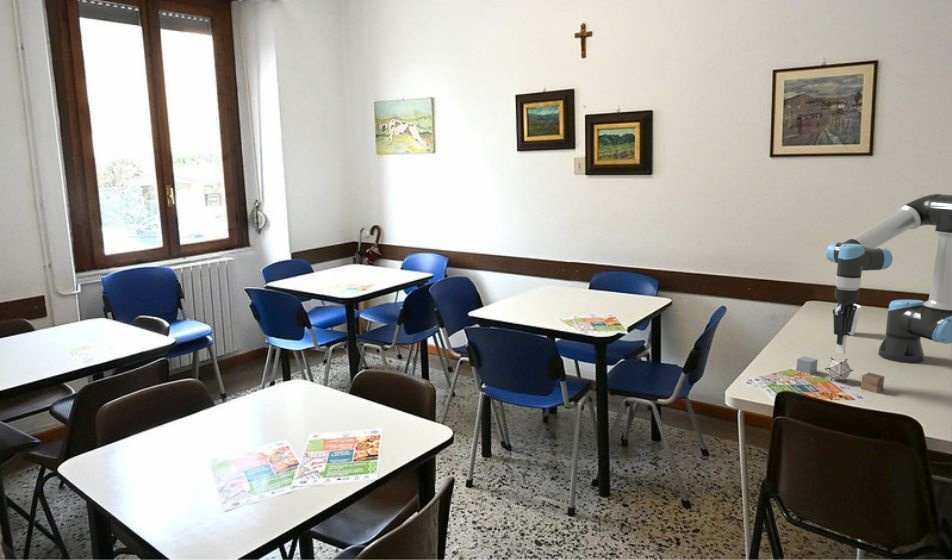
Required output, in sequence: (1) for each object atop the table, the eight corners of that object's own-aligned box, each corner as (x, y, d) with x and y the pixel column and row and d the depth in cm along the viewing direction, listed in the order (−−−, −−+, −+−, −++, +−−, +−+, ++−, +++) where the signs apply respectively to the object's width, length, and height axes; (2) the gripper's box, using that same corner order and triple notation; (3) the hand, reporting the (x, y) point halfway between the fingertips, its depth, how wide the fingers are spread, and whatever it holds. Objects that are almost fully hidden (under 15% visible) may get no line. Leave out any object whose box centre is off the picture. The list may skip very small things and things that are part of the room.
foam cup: (862, 336, 289) (865, 307, 286) (841, 336, 289) (844, 308, 287) (850, 330, 298) (853, 302, 296) (830, 330, 298) (832, 303, 296)
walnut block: (867, 386, 231) (869, 372, 230) (882, 390, 227) (884, 376, 226) (860, 389, 228) (862, 375, 227) (876, 393, 224) (877, 379, 223)
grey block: (803, 368, 249) (804, 356, 248) (816, 372, 245) (817, 359, 244) (796, 371, 246) (797, 358, 245) (809, 375, 242) (810, 362, 241)
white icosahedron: (839, 388, 238) (856, 366, 238) (844, 388, 230) (862, 365, 230) (816, 373, 241) (833, 351, 241) (820, 372, 233) (838, 350, 233)
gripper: (845, 284, 236) (838, 347, 241) (827, 288, 229) (820, 353, 233) (867, 287, 230) (859, 352, 235) (849, 292, 223) (841, 358, 227)
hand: (840, 352), depth 234 cm, fingers closed
